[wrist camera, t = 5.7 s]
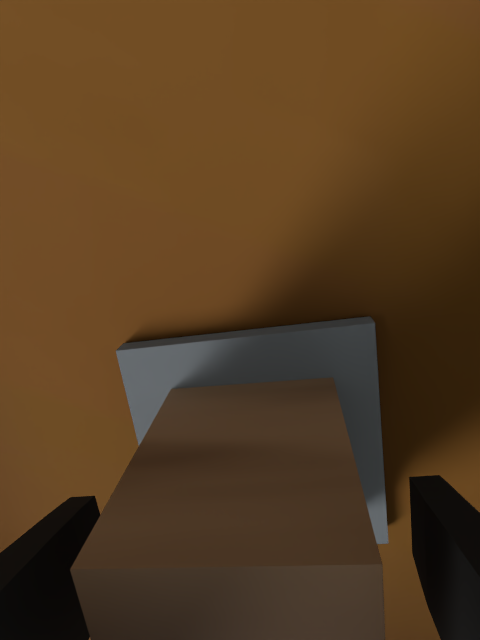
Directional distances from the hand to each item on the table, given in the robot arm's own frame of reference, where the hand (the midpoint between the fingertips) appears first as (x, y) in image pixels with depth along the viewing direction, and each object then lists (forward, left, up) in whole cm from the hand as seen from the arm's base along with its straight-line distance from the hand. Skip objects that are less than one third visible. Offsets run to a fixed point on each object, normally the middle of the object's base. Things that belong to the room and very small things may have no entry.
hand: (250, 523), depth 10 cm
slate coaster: (0, 0, -3) cm, 3 cm away
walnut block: (0, 0, -3) cm, 3 cm away
